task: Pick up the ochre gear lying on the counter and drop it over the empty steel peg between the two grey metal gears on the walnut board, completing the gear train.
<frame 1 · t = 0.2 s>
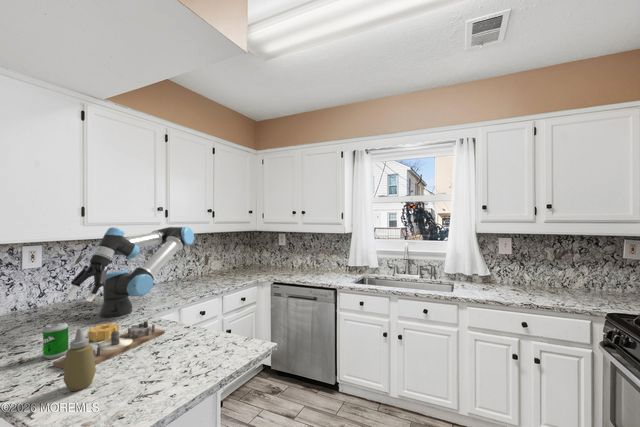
hand: (78, 300, 139), 16 cm above the countertop, tool tilted 30°, fingers open, 13 cm apart
squeeze bottle: (80, 387, 97), on the countertop
ochre gear: (103, 336, 137), on the countertop
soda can: (56, 355, 119), on the countertop
gear board: (115, 347, 125), on the countertop
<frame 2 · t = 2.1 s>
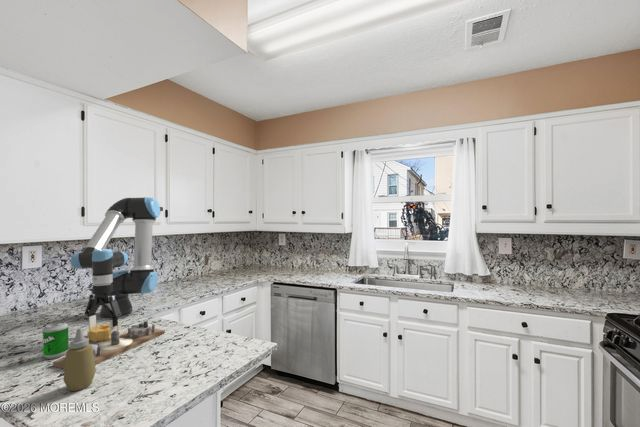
hand: (102, 332, 137), 2 cm above the countertop, tool pointing down, fingers open, 13 cm apart
nothing on the countertop moved.
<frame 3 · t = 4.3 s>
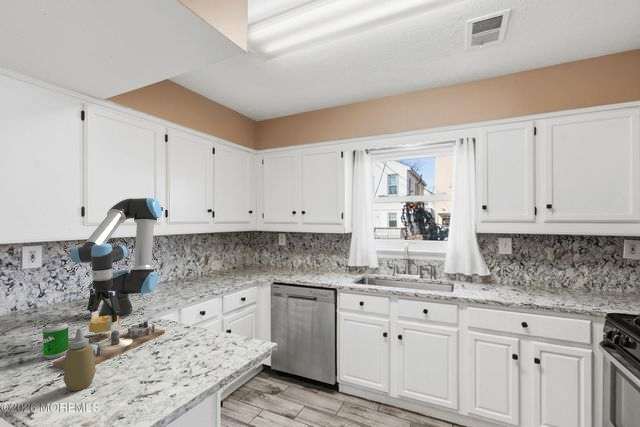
hand: (104, 327, 138), 4 cm above the countertop, tool pointing down, fingers closed on ochre gear, 11 cm apart
ochre gear: (104, 328, 138), point 4 cm above the countertop, touching gripper
everything else where it was.
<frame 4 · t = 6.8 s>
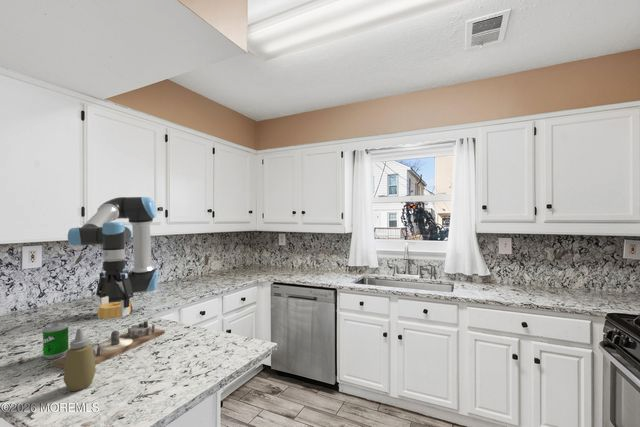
hand: (114, 314, 125), 14 cm above the countertop, tool pointing down, fingers closed on ochre gear, 11 cm apart
ochre gear: (114, 314, 125), point 14 cm above the countertop, touching gripper
everything else where it was.
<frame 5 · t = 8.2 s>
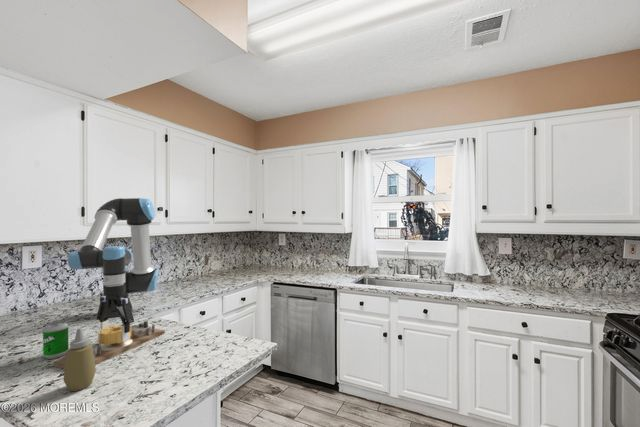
hand: (115, 338, 125), 4 cm above the countertop, tool pointing down, fingers closed on ochre gear, 11 cm apart
ochre gear: (115, 339, 125), point 4 cm above the countertop, touching gripper
everything else where it was.
when the fingers open (2 cm above the countertop, at t = 9.4 s): ochre gear stays where it is, resting on gear board.
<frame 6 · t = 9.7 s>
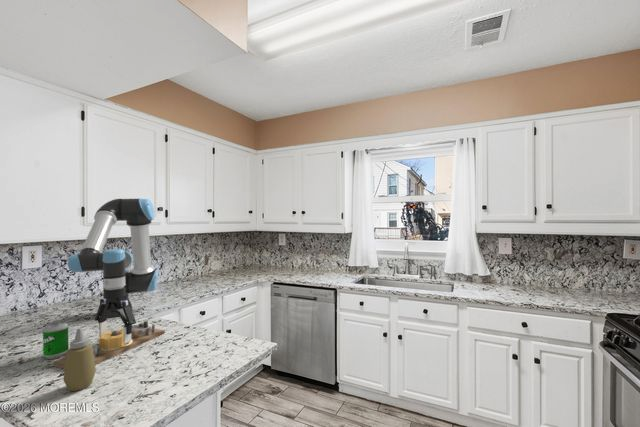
hand: (115, 340, 125), 3 cm above the countertop, tool pointing down, fingers open, 13 cm apart
ochre gear: (115, 343, 125), point 2 cm above the countertop, touching gear board
everything else where it was.
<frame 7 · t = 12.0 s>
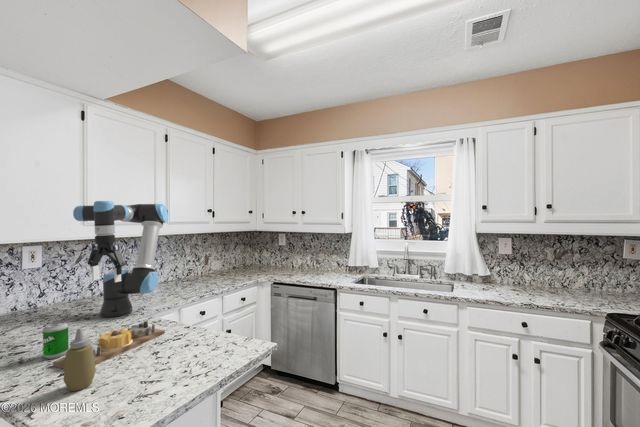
hand: (106, 280, 141), 24 cm above the countertop, tool pointing down, fingers open, 13 cm apart
nothing on the countertop moved.
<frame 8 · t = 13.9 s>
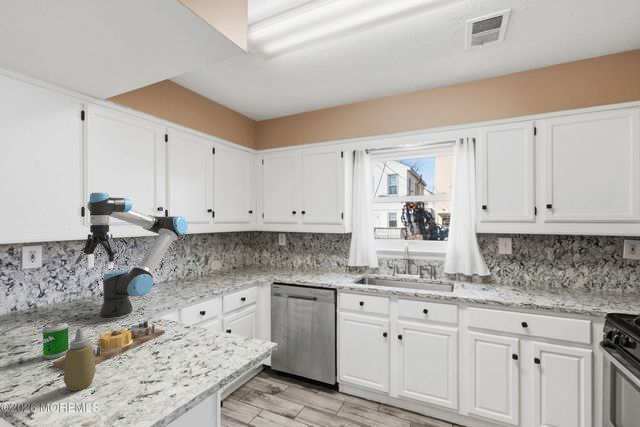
hand: (100, 268, 149), 29 cm above the countertop, tool pointing down, fingers open, 13 cm apart
nothing on the countertop moved.
at the end: ochre gear 0.1 cm off-centre on the gear board, point 1.6 cm above the gear board's base; ochre gear tilted 0°; the gripper is holding nothing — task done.
